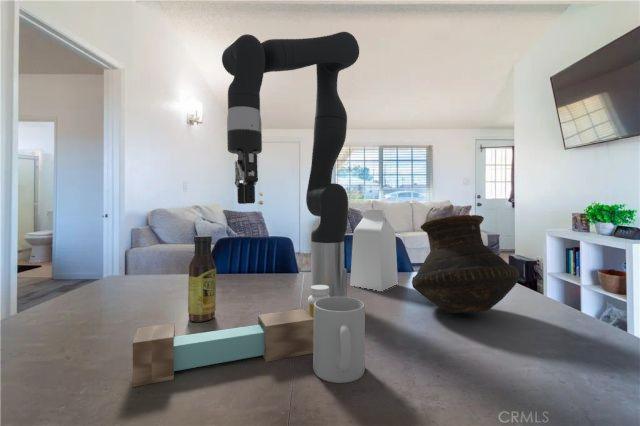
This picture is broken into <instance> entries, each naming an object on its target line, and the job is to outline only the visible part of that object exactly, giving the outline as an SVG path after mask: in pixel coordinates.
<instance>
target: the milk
mask: <svg viewBox="0 0 640 426" xmlns="http://www.w3.org/2000/svg"><path fill="white" fill-rule="evenodd" d="M353 230H354V231H352V246H351V247H352V248H351V263H350V265H351V267H350V281H349V283H350V284H349V286H350V287H354V286H355V287H354V288H359V287H361V288H360V289H364V288H367V289H366V290H369V289H373V290H372V291H375V290H377V291H376V292H380V291H382V292H384V291H383V290H385V289H387V288H389V287H392V286H394V285H396V284H398V285H399V283H398V282H399V281H398V280H399V279H398V261H397V259H398V258H397V240H396V239H397V238H396V230H395V227H393V226H392V224H391V223H390V221H389V219H387V217H386V213H385V212H384V209H365V212H364V214H363V217H362V219H361V220H360V222H358V224H357V225H356V226H355V228H354V229H353ZM394 287H395V286H394ZM392 288H393V287H392ZM387 290H388V289H387ZM385 291H386V290H385Z"/></svg>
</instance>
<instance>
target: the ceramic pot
mask: <svg viewBox="0 0 640 426" xmlns="http://www.w3.org/2000/svg"><path fill="white" fill-rule="evenodd" d="M484 219H485V217H484V216H482V215H479V214H478V215H477V214H473V215H472V214H471V215H470V214H462V215H461V214H459V215H450V216H445V217H443V216H442V217H438V218H434V219H431V220H429V221H426V222H424V223H423V224H421V226H420V229H421V231H424V232H425V233H426V235H427V239H428V245H429V253H428V254H427V256H426V257H425V259H424V262H423V264H421V265H420V266H419V269H418V270H417V273H416V274H415V275H414V276H413V277H412V280H411V283H412V284H411V285H412V289H415V291H416V292H417V293H419V294H420V295H421V296H423V297H424V298H425V299H427V300H428V301H429V302H431V303H432V304H433V305H436V306H437V307H439V308H440V309H442V310H443V311H445V312H446V313H448V314H460V313H475V312H477V313H478V312H485V311H490V310H491V309H492V308H493V307H494V306H496V305H497V304H498V303H499V302H501V301H502V300H503V299H504V298H505V297H506V296H507V294H509V293H510V291H511V290H512V289H513V288H514V287H515V286H516V285H517V283H518V282H519V280H520V279H521V278H520V271H519V270H518V268H516V267H515V266H514V265H511V264H509V263H508V262H506V260H505V259H504V258H502V256H500V255H499V254H497V253H495V252H494V251H493V250H492V249H491V248H489V247H488V246H487V245H485V244H484V241H483V237H482V233H481V232H482V231H481V224H482V222H483V221H484Z"/></svg>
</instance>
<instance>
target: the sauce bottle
mask: <svg viewBox="0 0 640 426" xmlns="http://www.w3.org/2000/svg"><path fill="white" fill-rule="evenodd" d="M212 241H213V237H212V235H194V236H193V242H194V256H193V257H192V259H191V261H190V263H189V265H188V266H189V267H188V282H187V283H188V287H187V289H188V294H187V300H188V301H187V306H188V307H187V313H188V320H189V321H191V322H193V323H195V322H196V323H200V322H206V321H210V320H212V319H214V317H215V314H216V310H217V302H216V301H217V266H216V264H215V261H214V259H213V254H212Z"/></svg>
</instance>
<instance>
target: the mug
mask: <svg viewBox="0 0 640 426" xmlns="http://www.w3.org/2000/svg"><path fill="white" fill-rule="evenodd" d="M365 332H366V305H365V303H364V301H361V300H359V299H358V298H353V297H350V296H349V297H348V296H347V297H326V298H322V299H319V300H317V301H316V302H315V303H314V353H312V354H313V355H312V356H313V359H312V362H313V363H312V364H313V365H312V368H313V369H312V370H313V373H315V375H316V376H317V377H318V378H319V379H321V380H323V381H325V382H328V383H334V384H335V383H336V384H349V383H353V382H355V381H358V380H359V379H360V378H362V377H363V375H364V373H365V370H366V350H365V349H366V333H365Z"/></svg>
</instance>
